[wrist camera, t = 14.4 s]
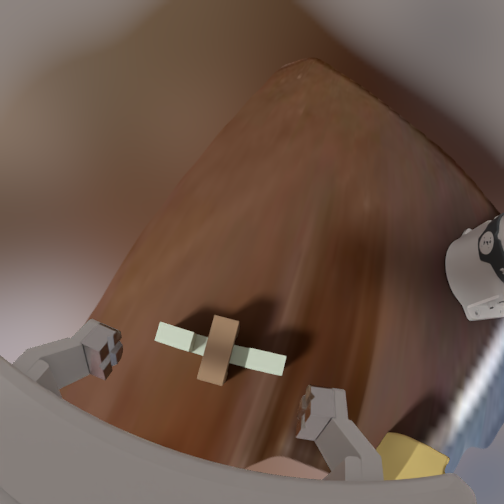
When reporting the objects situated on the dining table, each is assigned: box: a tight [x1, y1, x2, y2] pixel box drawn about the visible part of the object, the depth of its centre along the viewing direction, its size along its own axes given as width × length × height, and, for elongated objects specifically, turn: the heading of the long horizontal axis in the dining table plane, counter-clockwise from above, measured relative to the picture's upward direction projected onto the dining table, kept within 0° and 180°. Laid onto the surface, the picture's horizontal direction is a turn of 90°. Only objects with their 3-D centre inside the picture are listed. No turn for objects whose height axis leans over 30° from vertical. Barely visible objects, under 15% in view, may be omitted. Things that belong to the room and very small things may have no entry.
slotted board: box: [155, 322, 287, 376], centre depth 36 cm, size 2×16×6 cm, turn 76°
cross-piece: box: [197, 315, 240, 386], centre depth 36 cm, size 8×3×7 cm, turn 166°
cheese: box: [376, 432, 450, 480], centre depth 27 cm, size 10×11×10 cm
